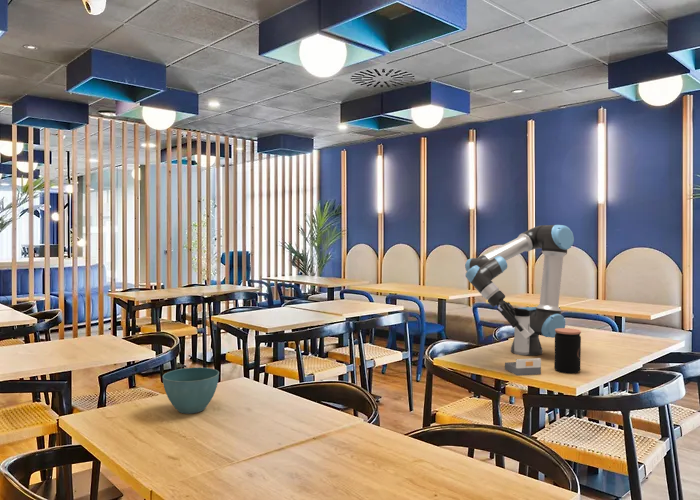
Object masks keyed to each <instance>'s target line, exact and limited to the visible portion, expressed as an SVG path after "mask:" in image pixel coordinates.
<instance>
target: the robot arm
mask: <svg viewBox="0 0 700 500" xmlns="http://www.w3.org/2000/svg"><path fill="white" fill-rule="evenodd" d="M574 242H575V238H574V233H573V231H572V230H571V228H570V227H569V226H567V225H565V224H564V225H563V224H550V225H549V224H545V225H542V224H541V225H537V226H535V227H533V228H530V229H528V230H526V231H524V232H522V233H519V235H518V236H517V238H514V239H513V240H510V241H508V242H506V243H504V244H502V245H500V246H498V247H496V248H495V249H492V250H491V251H489V252H486V253H485V254H481V255H480V256H478V257H471V258H469V259H467V260H466V261H465V263H464V264H465V265H464V268H465V271H466V273H465V278H466V279H467V281H468V282H469V283H470V284H471V285H472V286H473V287H474V288H475V290H477V291H478V292H479V294H480V295H481V297H482V298H484V299H485V300H486V301H487V302H488V304H490V306H491V307H493V308H494V307H497V308H496V310H497V311H498V312H499V313H500V314H501V315H502V316H503V318H504V319H505V320H506V321H507V322H508V323H509V325H510V326H511V328H513V329H515V328H516V329H517V330H518V331H519V332H520V333H521V334H522V335H523V336H524V337H525V339H526V338H527V337H528V336H529V354H528V355H527V356H541V355H543V347H542V344H541V341H540V338H539V337H540V336H543V337H545V338H551V339H552V338H554V339H555V334H556V332H555V329H558V328H566V319H565V316H563V315H562V308H561V307H559V303H560V293H561V282H562V275H563V274H562V272H563V263H564V257H565V256H566V255H567V254H568V250H569V249H570V248H572V246H574ZM537 249H538V250H539V249H541V253H542V254H543V255H544V258H543V265H542V266H543V268H542V276H541V277H542V279H541V284H540V285H541V287H540V297H539V304H538V305H537V306H528V307H524V306H523V307H519V308H520V309H526V310H528V311H529V310H530V333H529V332H528V331H527V330H526V329H525V328H524V327H523V325H522V324H521V323H519V322H518V321H517V320H516V318H515V310H514V308H515V307H514V306H513V305H512V304H511V303H510V302H509V301H506V300H504V299H505V298H506V295H505V294H504V292H503V291H502V290H500V288H499V287H498V286H497V285H496V284H495V282H493V280H494V279H495V278H496V277H498V276H500V275H501V274H503V273H504V272H505V271H506V270H507V269H508V262H507V261H509V260H510V259H512V258H514V257H516V256H518V255H521V254H522V253H523V252H531V251H532V250H537ZM515 326H516V327H515ZM510 352H511V353H513V354H515V353H514V339H513V340H512V343H511V347H510Z"/></svg>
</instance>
